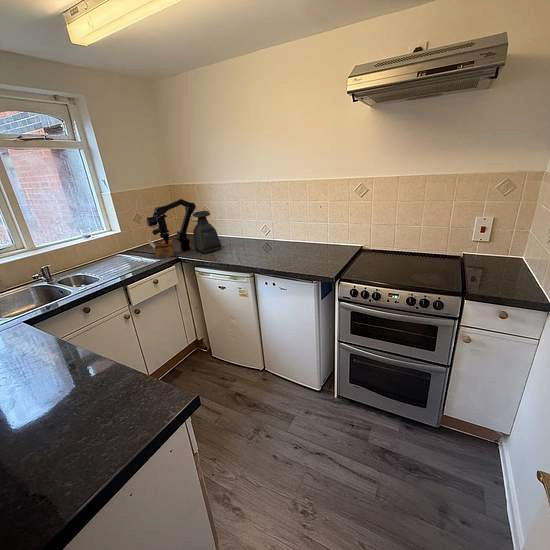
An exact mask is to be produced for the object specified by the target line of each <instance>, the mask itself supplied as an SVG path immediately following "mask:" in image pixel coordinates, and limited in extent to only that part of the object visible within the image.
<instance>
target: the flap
mask: <svg viewBox="0 0 550 550" xmlns="http://www.w3.org/2000/svg"><path fill="white" fill-rule="evenodd" d="M147 244H148V245H149V246H150V247H151V248H152V249H155V246H156V244H154V242H153V241H152V240H151V239H148V240H147Z"/></svg>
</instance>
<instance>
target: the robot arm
mask: <svg viewBox="0 0 550 550" xmlns="http://www.w3.org/2000/svg"><path fill="white" fill-rule="evenodd" d="M179 206H183V207H184V212H185V213H184V216H183V220H182V223H181V227H180V230H179V231H178V230H177V231H176V235H175V239H176V240H177V241H178V242H179V243H180V250H181V251H182V252H187V251H188V252H189V251H191V250H192V249H191V247H190V242H191V241H190V240H191V239H189V238H188V237H187V236H188V235H187V234H188V233H187V230H188V227H189V225H190V221H191V217H192V214H194V213H195V210H196V208H197V206H196V204H195V202H190V201H187V200H185V199H183V198H179V199H177V200H174V201H172V202H170V203H167V204H165V205H159V206H156V207H154V209H153V213H152V216H146V225H147V227H148V228H150V227H155V226H157V225H158V227H156V228H154V229H153V230H152V231H151V233H152V235H153V236H156V235H158V234H159V237H160V238H161V239H163V240H164V241H165V242H166V244H168V241H169V239H170V229H169V227H168V224H167V221H166V218H168V215H166V213H167V212H168V211H170V210H172V209H174V208H177V207H179Z"/></svg>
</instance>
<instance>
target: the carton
mask: <svg viewBox="0 0 550 550" xmlns="http://www.w3.org/2000/svg"><path fill="white" fill-rule="evenodd" d="M154 252H155V257H156V260H160V259H164V258H172V257H175V256H176V254H175V248H174V245H173V243H172V245H168V246H163V247H162V244H159V245H155V248H154Z"/></svg>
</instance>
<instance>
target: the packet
mask: <svg viewBox="0 0 550 550" xmlns="http://www.w3.org/2000/svg"><path fill="white" fill-rule="evenodd" d="M172 244H173V240H172V239H170V240H169V241H168V244H166V242H165V240H164V241H161V245H162V247H163V246H168V245H172Z"/></svg>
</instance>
